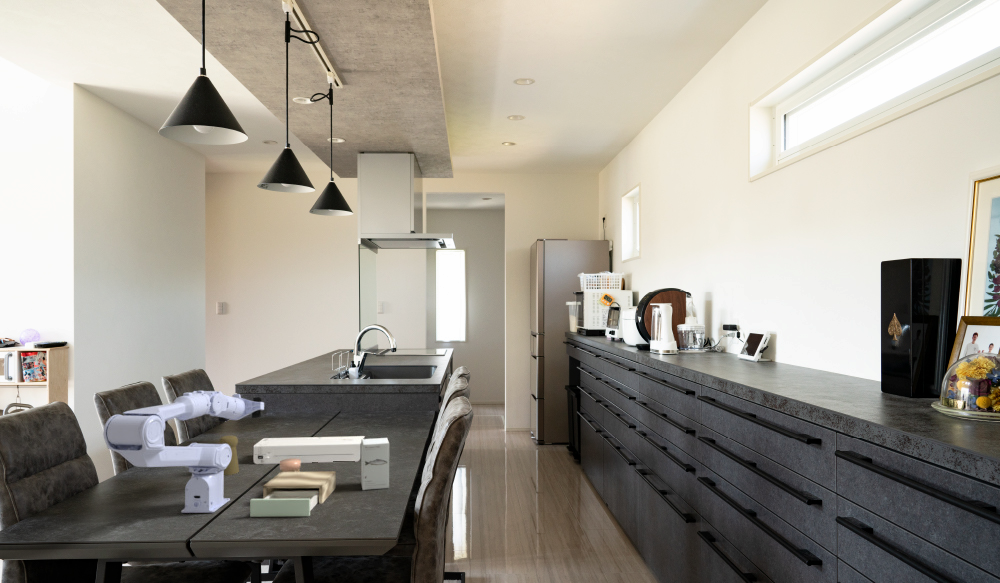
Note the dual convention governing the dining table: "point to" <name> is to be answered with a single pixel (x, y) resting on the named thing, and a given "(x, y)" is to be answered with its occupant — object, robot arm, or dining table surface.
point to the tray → (284, 504)
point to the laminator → (307, 449)
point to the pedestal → (292, 470)
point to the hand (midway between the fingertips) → (252, 412)
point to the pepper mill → (233, 464)
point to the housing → (303, 482)
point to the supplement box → (374, 463)
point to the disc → (290, 464)
